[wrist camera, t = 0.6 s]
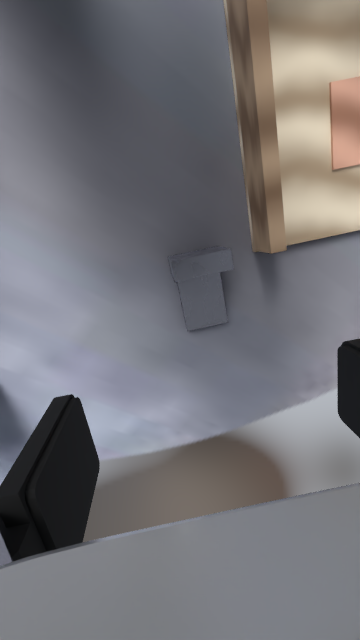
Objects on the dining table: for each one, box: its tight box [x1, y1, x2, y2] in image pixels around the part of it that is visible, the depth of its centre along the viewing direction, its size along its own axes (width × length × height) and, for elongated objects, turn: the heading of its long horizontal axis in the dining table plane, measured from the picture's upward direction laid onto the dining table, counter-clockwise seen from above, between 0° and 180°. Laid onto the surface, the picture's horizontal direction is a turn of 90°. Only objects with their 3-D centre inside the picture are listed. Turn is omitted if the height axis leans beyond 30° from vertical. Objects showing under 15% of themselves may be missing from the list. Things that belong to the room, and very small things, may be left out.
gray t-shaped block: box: [168, 246, 234, 331], centre depth 32 cm, size 9×6×6 cm, turn 11°
